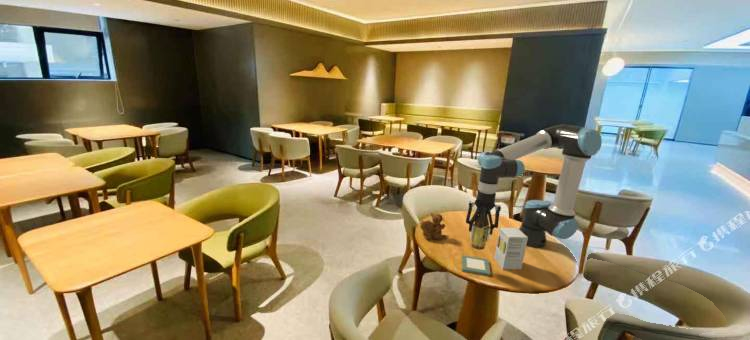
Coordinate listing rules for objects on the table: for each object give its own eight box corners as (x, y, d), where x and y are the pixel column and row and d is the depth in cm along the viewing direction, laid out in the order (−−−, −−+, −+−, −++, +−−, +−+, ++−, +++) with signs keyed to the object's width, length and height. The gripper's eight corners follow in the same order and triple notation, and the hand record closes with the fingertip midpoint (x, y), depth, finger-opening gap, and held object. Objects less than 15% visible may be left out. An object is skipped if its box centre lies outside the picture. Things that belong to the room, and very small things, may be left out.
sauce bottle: (483, 252, 136) (490, 210, 130) (468, 247, 139) (475, 206, 134) (486, 246, 141) (493, 205, 136) (472, 241, 144) (479, 202, 139)
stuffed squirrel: (448, 238, 167) (451, 216, 164) (426, 243, 162) (429, 220, 158) (437, 230, 176) (439, 209, 172) (416, 235, 170) (418, 213, 166)
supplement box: (493, 258, 150) (499, 227, 146) (511, 258, 151) (517, 227, 146) (502, 270, 141) (508, 237, 137) (522, 269, 142) (528, 237, 137)
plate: (487, 261, 147) (488, 259, 147) (490, 276, 136) (490, 273, 136) (461, 257, 150) (462, 254, 150) (462, 271, 139) (462, 268, 138)
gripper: (509, 191, 134) (500, 238, 140) (463, 185, 138) (457, 232, 145) (512, 197, 127) (502, 246, 133) (464, 190, 131) (457, 239, 138)
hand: (479, 239), depth 139 cm, fingers closed on sauce bottle, 6 cm apart
